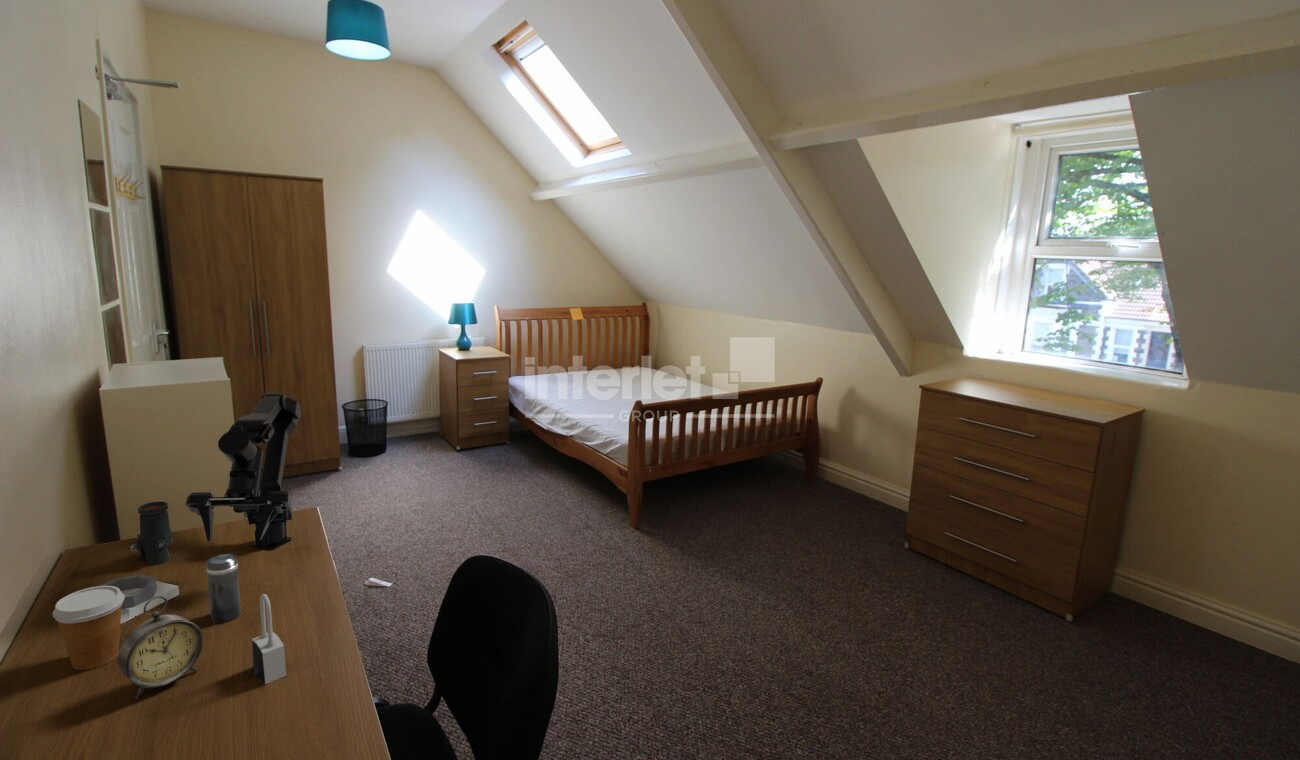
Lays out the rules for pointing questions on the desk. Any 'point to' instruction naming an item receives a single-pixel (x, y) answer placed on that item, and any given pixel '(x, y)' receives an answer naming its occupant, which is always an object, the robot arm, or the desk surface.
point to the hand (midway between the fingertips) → (234, 540)
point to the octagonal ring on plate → (141, 594)
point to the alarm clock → (160, 650)
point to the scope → (153, 533)
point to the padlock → (268, 649)
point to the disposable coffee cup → (91, 625)
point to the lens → (223, 588)
